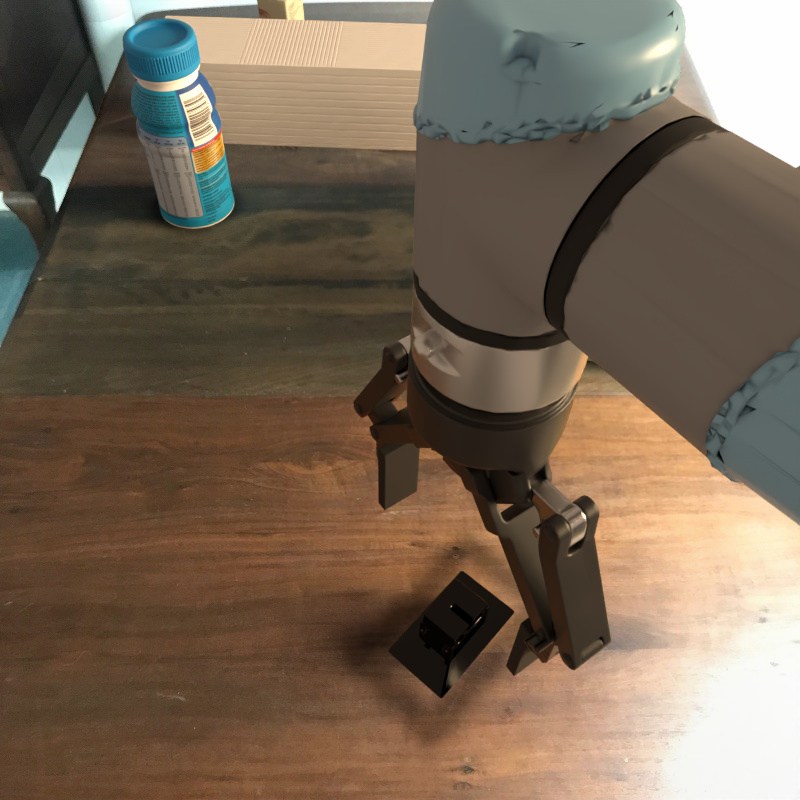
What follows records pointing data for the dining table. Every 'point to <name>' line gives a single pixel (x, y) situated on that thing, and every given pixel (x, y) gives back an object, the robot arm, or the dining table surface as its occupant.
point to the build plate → (451, 633)
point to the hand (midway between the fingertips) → (458, 572)
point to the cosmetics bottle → (281, 9)
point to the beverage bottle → (178, 123)
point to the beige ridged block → (312, 80)
